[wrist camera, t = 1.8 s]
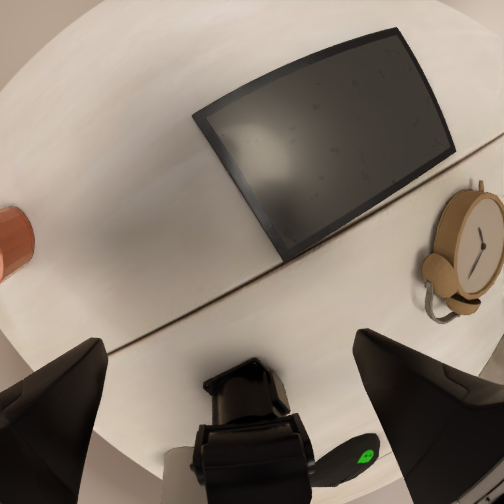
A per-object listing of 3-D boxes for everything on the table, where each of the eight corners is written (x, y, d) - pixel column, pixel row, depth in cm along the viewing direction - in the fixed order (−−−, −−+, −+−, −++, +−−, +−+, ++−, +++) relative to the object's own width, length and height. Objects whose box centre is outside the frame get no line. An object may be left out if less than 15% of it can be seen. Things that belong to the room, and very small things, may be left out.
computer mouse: (396, 433, 35) (405, 449, 32) (339, 480, 40) (344, 495, 36) (348, 433, 33) (357, 453, 29) (290, 482, 37) (295, 499, 33)
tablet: (281, 258, 23) (284, 263, 22) (192, 117, 19) (190, 115, 18) (450, 151, 21) (457, 151, 20) (391, 29, 17) (397, 26, 16)
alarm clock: (517, 230, 22) (469, 346, 23) (488, 225, 27) (442, 330, 27) (484, 166, 19) (427, 309, 20) (449, 168, 24) (393, 293, 25)
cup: (152, 455, 31) (146, 511, 21) (194, 441, 30) (193, 506, 21) (192, 475, 34) (192, 527, 24) (234, 463, 33) (239, 519, 23)
